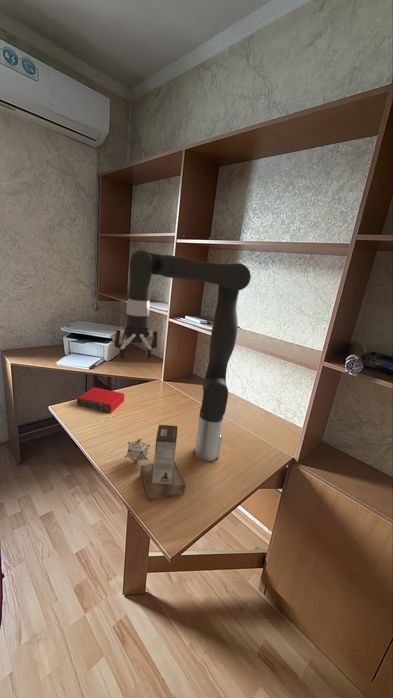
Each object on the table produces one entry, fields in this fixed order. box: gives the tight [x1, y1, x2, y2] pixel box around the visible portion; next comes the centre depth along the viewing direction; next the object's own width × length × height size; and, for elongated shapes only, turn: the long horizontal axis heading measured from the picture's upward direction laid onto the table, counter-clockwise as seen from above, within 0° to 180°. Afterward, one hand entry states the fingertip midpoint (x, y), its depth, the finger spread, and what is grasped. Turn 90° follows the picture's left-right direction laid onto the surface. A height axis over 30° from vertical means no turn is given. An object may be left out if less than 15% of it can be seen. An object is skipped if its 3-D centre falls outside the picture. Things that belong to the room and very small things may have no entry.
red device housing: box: [76, 386, 125, 414], centre depth 146 cm, size 18×14×5 cm
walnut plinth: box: [139, 460, 186, 502], centre depth 97 cm, size 12×12×4 cm
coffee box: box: [152, 424, 178, 484], centre depth 94 cm, size 9×6×16 cm
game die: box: [124, 438, 151, 464], centre depth 105 cm, size 9×8×10 cm
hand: (134, 359), depth 101 cm, fingers open, 8 cm apart
